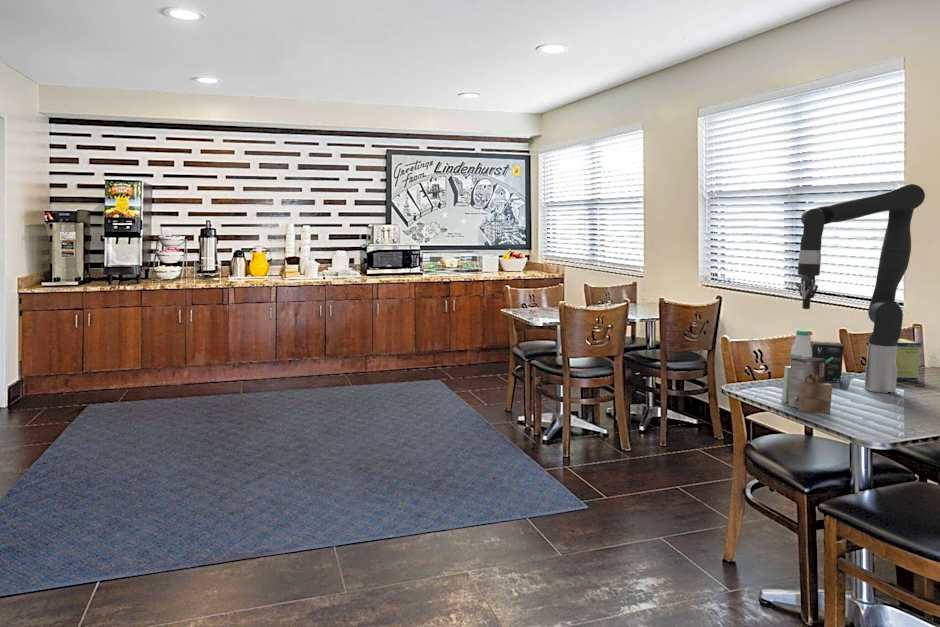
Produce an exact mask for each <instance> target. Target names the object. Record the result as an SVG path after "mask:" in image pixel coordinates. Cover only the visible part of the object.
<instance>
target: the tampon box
mask: <svg viewBox="0 0 940 627" xmlns="http://www.w3.org/2000/svg"><path fill="white" fill-rule="evenodd" d="M810 346H811V349H812V357H814V358H819V359H825V360H826V370H825V382H826V381H830V382H829V383H839V382H840V383H841V381H842V372H843V371H842V370H843V361H844V360H843V359H844V345H843V343H841V342H837V341H836V342H835V341H834V342H833V341H816V340H815V341H813V340H811V341H810ZM832 381H833V382H832ZM834 381H835V382H834ZM837 381H839V382H837Z"/></svg>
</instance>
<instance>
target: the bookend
mask: <svg viewBox="0 0 940 627" xmlns="http://www.w3.org/2000/svg"><path fill="white" fill-rule="evenodd" d="M783 370H784V371H783V384H782V395H781V396H782V399H781V401H782V400H783V401H782V402H783V403H785V402H789V388H790V372H791V366H789V365H784V369H783Z"/></svg>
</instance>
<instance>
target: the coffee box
mask: <svg viewBox="0 0 940 627" xmlns="http://www.w3.org/2000/svg"><path fill="white" fill-rule="evenodd" d="M825 370H826V360H825V359H819V358H814V357H802V358H791V372H790V388H789V403H788V404H787V405H788V406H790V407H794V408H797V409H798V399H799V386H800V382H807V383H826V381H825Z"/></svg>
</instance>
